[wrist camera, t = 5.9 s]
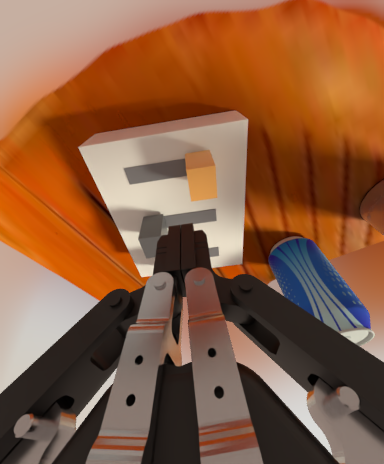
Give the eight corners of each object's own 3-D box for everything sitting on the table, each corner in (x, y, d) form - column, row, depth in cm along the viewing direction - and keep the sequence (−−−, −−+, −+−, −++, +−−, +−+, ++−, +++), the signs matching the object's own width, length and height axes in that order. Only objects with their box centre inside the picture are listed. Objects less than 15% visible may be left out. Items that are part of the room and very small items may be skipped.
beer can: (259, 245, 35) (303, 340, 23) (307, 225, 33) (385, 318, 21) (273, 270, 40) (315, 359, 28) (316, 254, 38) (382, 344, 25)
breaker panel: (235, 110, 22) (248, 119, 18) (235, 242, 34) (242, 264, 30) (95, 133, 22) (77, 147, 18) (145, 254, 35) (141, 277, 31)
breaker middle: (163, 213, 23) (160, 235, 20) (168, 232, 25) (167, 255, 22) (143, 216, 23) (138, 239, 20) (150, 235, 25) (146, 258, 22)
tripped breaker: (209, 149, 19) (215, 165, 16) (211, 178, 21) (217, 197, 18) (184, 153, 19) (186, 170, 16) (189, 182, 21) (191, 201, 18)
